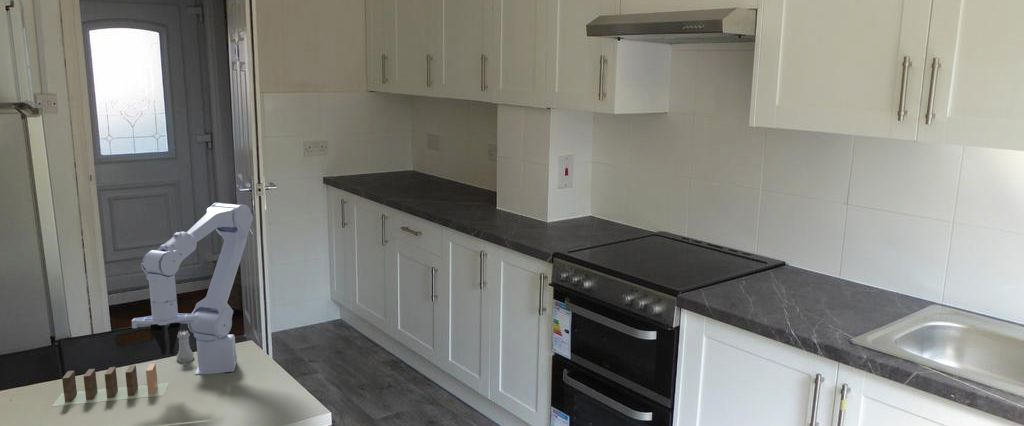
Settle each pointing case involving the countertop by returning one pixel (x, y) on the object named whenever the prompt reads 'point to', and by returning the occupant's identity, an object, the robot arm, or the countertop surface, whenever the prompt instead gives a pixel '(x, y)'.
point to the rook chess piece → (184, 347)
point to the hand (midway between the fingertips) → (168, 353)
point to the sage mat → (120, 395)
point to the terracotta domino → (151, 378)
